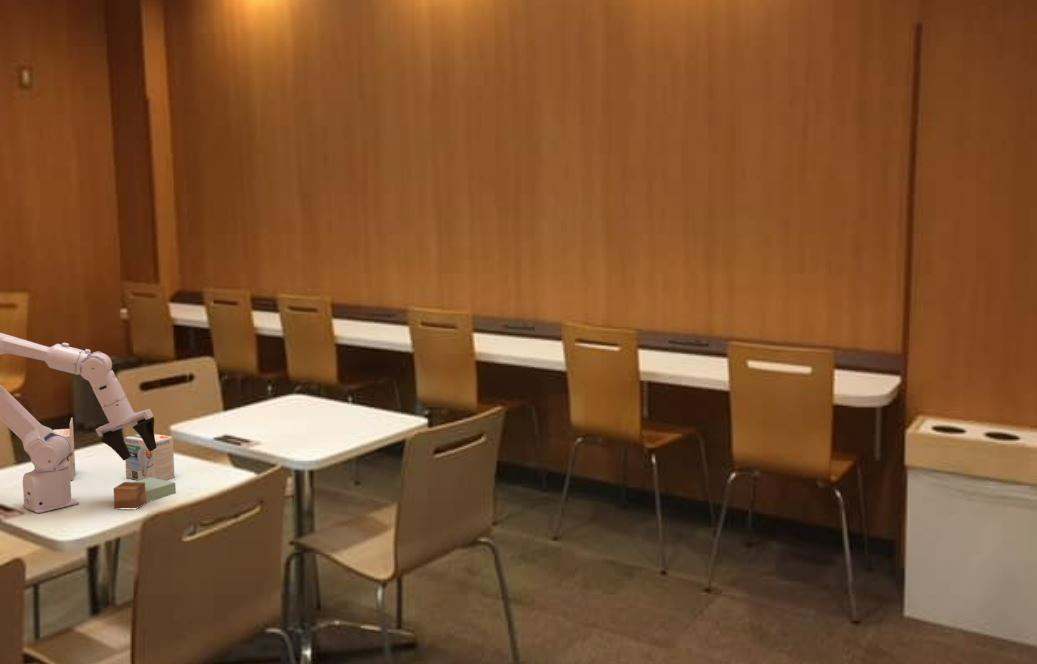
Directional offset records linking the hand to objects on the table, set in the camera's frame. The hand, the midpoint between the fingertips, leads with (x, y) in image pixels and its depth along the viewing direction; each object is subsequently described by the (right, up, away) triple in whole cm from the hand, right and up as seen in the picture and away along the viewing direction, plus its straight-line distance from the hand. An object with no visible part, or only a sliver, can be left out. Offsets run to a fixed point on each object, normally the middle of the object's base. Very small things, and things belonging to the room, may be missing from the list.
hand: (140, 454), depth 221 cm
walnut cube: (-1, -12, -3) cm, 12 cm away
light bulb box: (-5, -9, +20) cm, 23 cm away
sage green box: (-1, -11, +6) cm, 12 cm away
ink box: (-27, -9, +20) cm, 35 cm away
